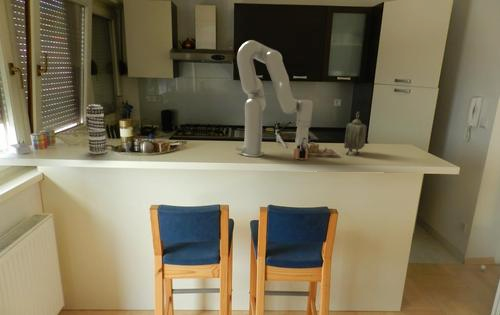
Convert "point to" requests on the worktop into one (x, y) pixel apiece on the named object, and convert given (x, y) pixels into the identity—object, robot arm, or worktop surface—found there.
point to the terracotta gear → (296, 154)
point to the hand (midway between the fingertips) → (300, 156)
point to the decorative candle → (96, 129)
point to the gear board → (320, 151)
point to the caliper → (280, 140)
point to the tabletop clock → (355, 135)
